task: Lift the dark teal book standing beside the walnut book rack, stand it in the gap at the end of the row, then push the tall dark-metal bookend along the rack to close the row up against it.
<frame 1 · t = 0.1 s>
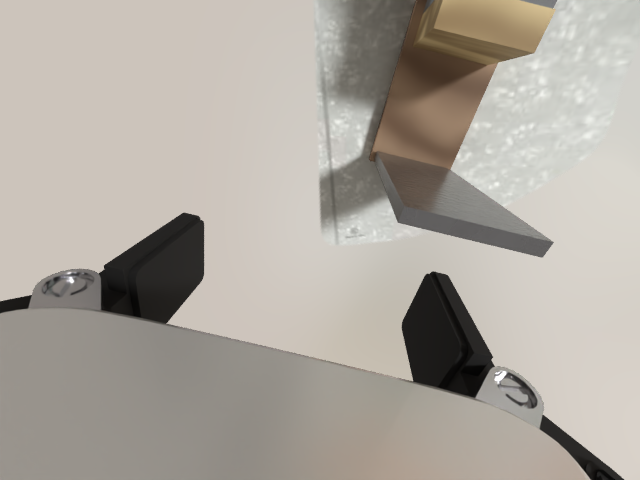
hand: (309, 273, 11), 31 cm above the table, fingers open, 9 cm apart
bookend: (431, 186, 27), point 13 cm above the table, slide at 0.0 cm
book rack: (440, 72, 33), on the table
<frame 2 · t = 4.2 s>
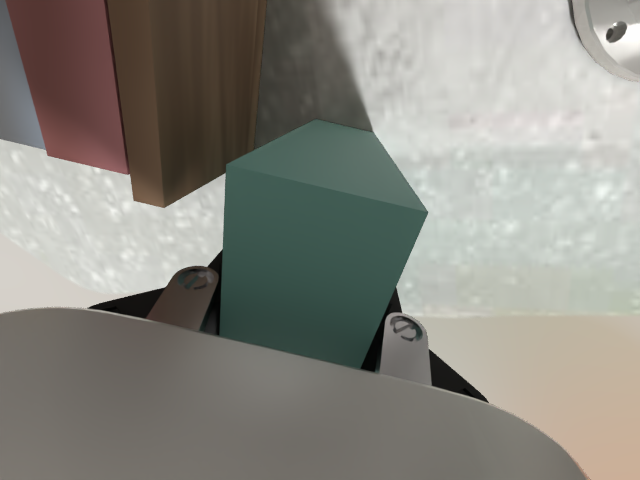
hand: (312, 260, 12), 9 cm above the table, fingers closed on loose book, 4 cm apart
loose book: (328, 195, 20), on the table, touching gripper
book rack: (75, 25, 17), on the table
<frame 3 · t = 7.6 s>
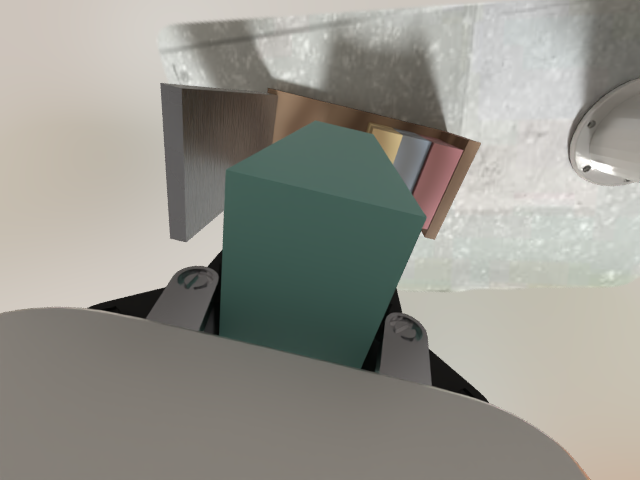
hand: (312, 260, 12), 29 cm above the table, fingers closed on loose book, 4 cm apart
bookend: (238, 147, 27), point 13 cm above the table, slide at 0.0 cm
loose book: (328, 196, 20), point 20 cm above the table, touching gripper
book rack: (348, 152, 38), on the table
when the fingers open (12 cm above the table, at t = 11.2 s): loose book drops 1 cm, resting on book rack.
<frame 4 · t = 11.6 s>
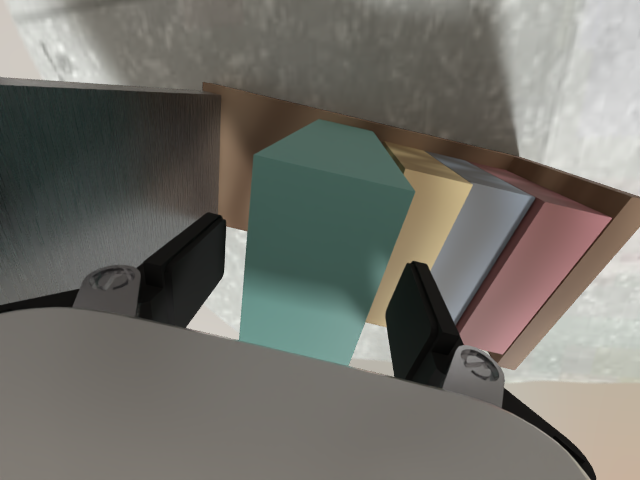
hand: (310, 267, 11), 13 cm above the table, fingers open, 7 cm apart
bookend: (97, 214, 12), point 13 cm above the table, slide at 0.0 cm
loose book: (330, 190, 22), point 1 cm above the table, touching book rack
book rack: (348, 188, 23), on the table
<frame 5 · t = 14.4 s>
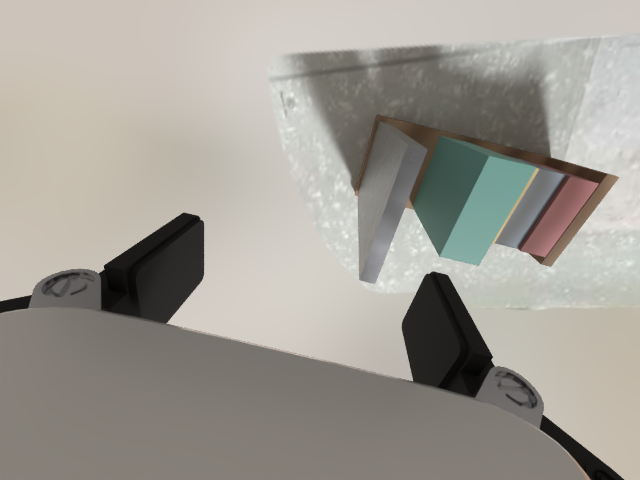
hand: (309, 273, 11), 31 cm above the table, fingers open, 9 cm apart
bookend: (377, 180, 27), point 13 cm above the table, slide at 0.0 cm
loose book: (439, 176, 37), point 1 cm above the table, touching book rack
book rack: (446, 175, 38), on the table
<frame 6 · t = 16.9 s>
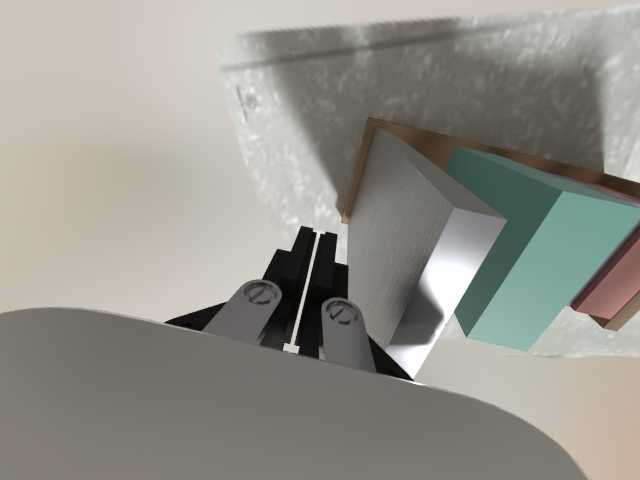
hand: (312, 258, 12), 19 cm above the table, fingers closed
bookend: (374, 220, 18), point 13 cm above the table, slide at 0.4 cm, touching gripper
loose book: (453, 199, 28), point 1 cm above the table, touching book rack
book rack: (461, 197, 29), on the table
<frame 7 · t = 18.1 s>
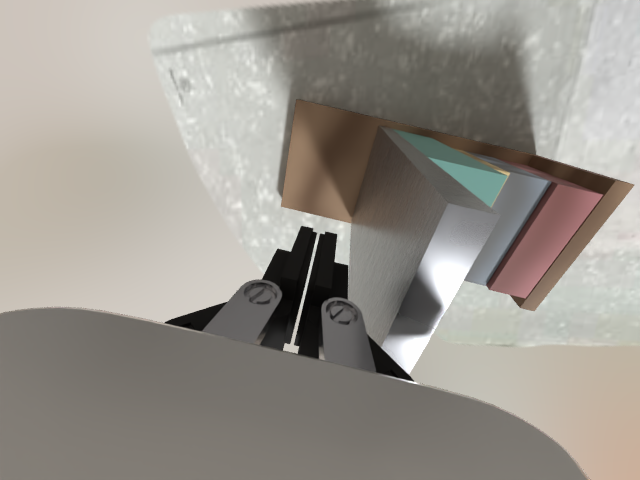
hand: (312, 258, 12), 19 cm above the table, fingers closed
bookend: (376, 219, 18), point 13 cm above the table, slide at 7.8 cm, touching gripper, loose book
loose book: (393, 183, 28), point 1 cm above the table, touching book rack, bookend
book rack: (398, 180, 29), on the table
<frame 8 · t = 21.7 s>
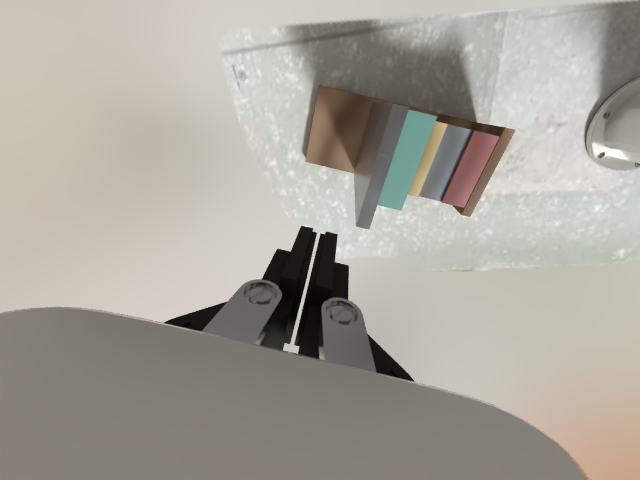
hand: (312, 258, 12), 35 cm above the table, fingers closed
bookend: (371, 150, 31), point 13 cm above the table, slide at 7.7 cm
loose book: (384, 143, 41), point 1 cm above the table, touching book rack
book rack: (386, 142, 42), on the table
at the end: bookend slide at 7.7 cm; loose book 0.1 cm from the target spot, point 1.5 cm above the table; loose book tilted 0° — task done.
